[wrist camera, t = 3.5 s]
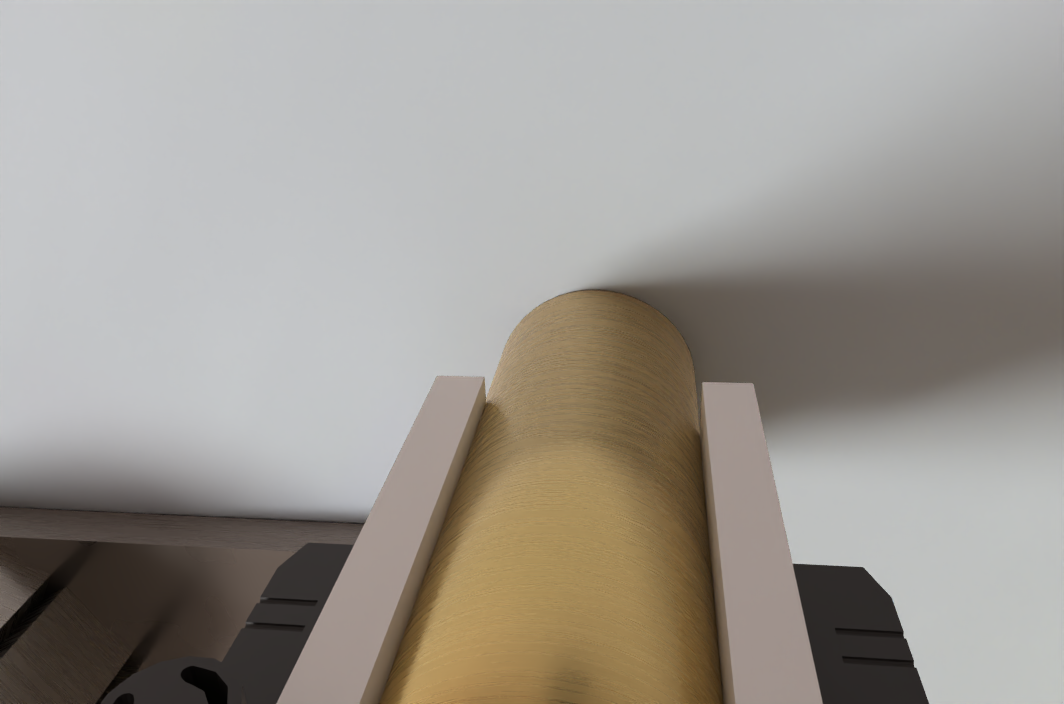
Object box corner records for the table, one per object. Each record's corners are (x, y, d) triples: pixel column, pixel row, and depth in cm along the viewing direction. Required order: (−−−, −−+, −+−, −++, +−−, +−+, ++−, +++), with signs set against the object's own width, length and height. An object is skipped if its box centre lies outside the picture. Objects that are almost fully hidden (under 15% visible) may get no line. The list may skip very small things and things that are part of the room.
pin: (493, 289, 16) (-136, 1698, 3) (698, 290, 15) (907, 1951, 3) (505, 460, 17) (110, 1866, 5) (690, 466, 17) (803, 2045, 4)
